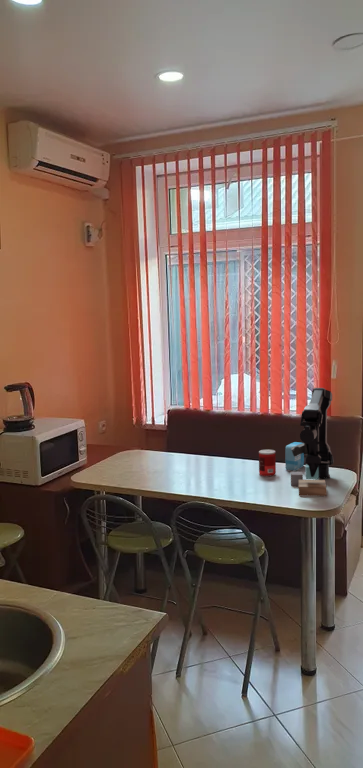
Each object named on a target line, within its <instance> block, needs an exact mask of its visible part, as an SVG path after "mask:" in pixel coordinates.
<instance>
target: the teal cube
mask: <svg viewBox="0 0 363 768" xmlns="http://www.w3.org/2000/svg"><path fill="white" fill-rule="evenodd" d="M305 480H320V478H319V469H318V468H317V471H316V473H315V475H314V477H311V474H310V468H309V465H308V464H307V463H305Z"/></svg>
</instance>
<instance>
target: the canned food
mask: <svg viewBox="0 0 363 768" xmlns="http://www.w3.org/2000/svg"><path fill="white" fill-rule="evenodd" d="M276 458H277V457H276V450H274V449H261V450H259V451H258V472H259V473H258V474H259V476H262V477H273V476H275V475H276V472H277V469H276V468H277V467H276V466H277V465H276V464H277V462H276V461H277V460H276Z"/></svg>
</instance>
